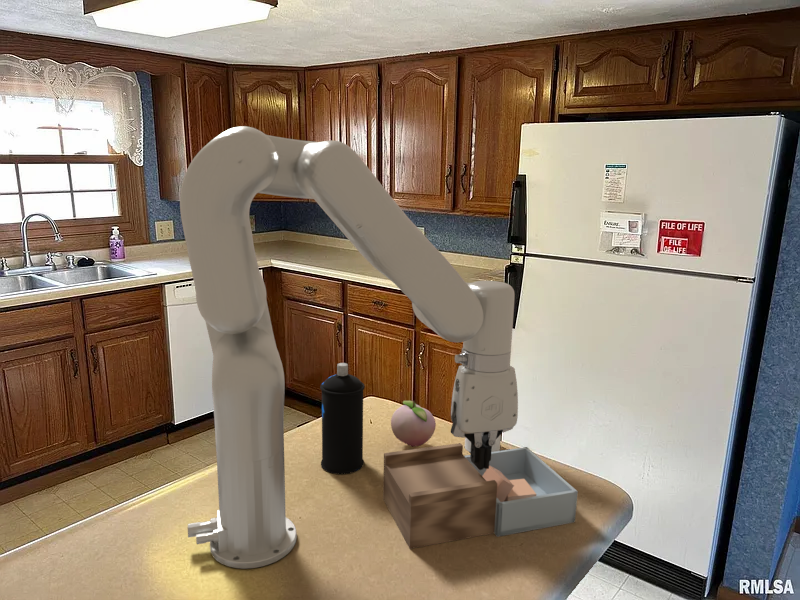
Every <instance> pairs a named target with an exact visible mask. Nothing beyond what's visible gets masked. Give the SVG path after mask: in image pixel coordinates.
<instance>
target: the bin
mask: <svg viewBox="0 0 800 600" xmlns="http://www.w3.org/2000/svg"><path fill="white" fill-rule="evenodd" d="M470 455H471V454H468V455H467V454H466V455H464V456H465V458H466V459H467V460H468V461H469V462H470V463H471V464H472V465H473V467H474V468H475V469H476V470H477V471H478V472H479V473H480V474H481V475H482V476H483V474H484V473H485V471H486V470H487V469H485V468H484V469H483V470H479V469H478V468H477V467H476V466H475V465H474V464H473V463H472V461H471V458H470ZM489 465H490V466H492V467H493V468H495V469H497V470H499V471H500V472H501V473H502V474H503V475H504V476H505V477H506V478H507V479H508V480H516V479H525V480H526V482H527V483H528V484H529V485H530V487H531V488H532V489H533V490H534V492H535V493H536V496H535V497H529V498H523V499H517V500H511V501H505V502H500V501H499V499H498V498H496V513H495V529H494V533H493V534H495V536H496V537H497V538H498V537H503V536H504V537H505V536H508V535H515V534H520V533H525V532H530V531H537V530H540V529H545V528H550V527H551V528H552V527H556V526H562V525H567V524H573V523H575V522H576V513H577V505H578V504H577V501H578V493H579V491H578V490H577V489H576V488H575V487H574V486H572V485H571V483H569V482H567V480H565V479H564V478H563V477H562V476H561V475H559V474H558V472H556V471H555V470H554V469H553V468H552V467H550V466H549V465H548V464H547V463H546V462H545V461H543V460H542V459H541V458H540V457H539V456H538V455H537V454H535V452H533V451H532V450H531V449H530V448H529V447H528V446H524V447H518V448H509V449H504V450H500V451H495V452H491V461H489Z"/></svg>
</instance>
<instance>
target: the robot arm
mask: <svg viewBox="0 0 800 600" xmlns="http://www.w3.org/2000/svg"><path fill="white" fill-rule="evenodd" d="M181 183H182V184H181V188H180V195H179V209H180V210H179V211H180V220H181V224H182V229H183V234H184V239H185V240H184V241H185V244H186V250H187V256H188V259H189V266H190V269H191V275H192V278H193V283H194V284H193V285H194V289H195V290H194V291H195V301H196V305H197V309H198V311H199V313H200V315H201V317H202V318H203V319H204V322H205V325H206V330H207V334H208V338H209V342H210V346H211V349H212V350H211V351H212V356H213V357H212V370H211V392H212V393H211V395H212V404H213V417H214V419H213V420H214V436H215V438H214V439H215V451H216V466H217V467H216V469H217V473H216V474H217V490H218V491H217V492H218V508H219V509H217V510H216V516H217V517H211V518H210V520H208V521H198V522H197V521H196V522H192V523H187V537H188V538H189V539H190V538H196V539H195V540H196V545H200V544H201V545H202V544H206V543H209V549H210V553H211V555H212V557H213V558H214V560H215V561H216V562H219V563H220V564H221V565H225V566H226V567H230V568H234V569H254V568H255V569H256V568H260V567H261V568H262V567H264V566H265V567H266V566H269V565H271V564H273V563H276V562H277V561H279V560H281V559H283V558H284V557H285V556H286V555H288V554H289V553H290V552H291V551H292V550H293V548H294V547H295V545H296V543H297V538H298V537H297V529H296V525H295V524H294V523H293V521H292V520H291V519H289V518H288V517H287V516H286V513H287V512H286V483H285V482H286V480H285V479H286V477H285V474H286V473H285V469H286V468H285V433H284V432H285V431H284V429H285V428H284V427H285V426H284V424H285V423H284V414H285V413H284V410H285V389H286V388H285V387H286V386H285V385H286V384H285V372H284V367H283V363H282V360H281V357H280V352H279V350H278V348H277V343H276V339H275V335H274V331H273V325H272V321H271V316H270V311H269V306H268V301H267V288H266V284H265V282H264V281H265V280H264V278H263V275H262V274H261V272H260V269H259V264H258V259H257V254H256V251H255V246H254V239H253V232H252V230H253V229H252V225H251V219H250V210H251V209H250V208H251V204H252V202H253V200H254V198H255V196H256V195H257V194H265V195H272V196H280V197H287V198H296V199H308V200H314V201H315V202H316V204H318V205H319V207H320V208H321V209H322V210H323V212H324V213H325V214H326V215H327V216H328V217H329V218H330V220H331V221H332V222H333V223H334V225H335V226H337V228H338V229H339V230H340V231H341V233H342V234H343V235H344V236H345V237H346V238H347V240H348V241H349V242H350V243H351V244H352V245H353V247H355V249H356V250H357V252H359V254H360V256H362V257H363V258H364V259H365V260H366V261H367V262H368V263H369V264H370V265H371V266H372V267H373V268H374V269H376V271H378V272H379V273H380V274H382V275H383V276H384V277H386V278H387V279H388V280H390V281H391V282H392V283H393V284H394V285H395V286H396V287H397V288H398V289H399V290H400V291H401V293H403V294H404V295H405V296H406V297H407V298H408V299H409V300H410V301H411V306H412V311H413V312H414V315H415V316H416V318H417V319H418V320H419V321H420V322H421V323H423V324H424V325H425V326H426V327H427V328H428V329H430V330H432V331H433V332H434V333H435V334H437V336H439V337H440V338H442V339H443V340H446V341H448V342H451V343H463V344H462V347H461V352H460V353H459V354H455V355H454V362H455V363H456V364H461V365H459V366H458V369H457V372H456V375H455V378H454V379H455V380H454V382H453V383H454V384H453V388H452V389H453V390H452V396H451V404H450V405H451V407H450V420H451V422H452V424H451V429H450V433H451V435H453V436H454V437H456V438H461V439H462V438H464V439H465V438H467V439H468V440H469V441H470V442H471V453H470V454H469V455H470V458H471V461H472V463H473V464H474V465H475V466H476V467H477V468H478V469H479V470H483V469H484V468H485V469H489V461H491V451H492V446H493V445H494V444H495V441H496V439H497V438H498V437H499V436H500V435H502V434H503V433H506V432H509V431H511V430H513V428H514V427H515V426H516V425H517V423H518V416H519V415H518V413H519V411H518V410H519V398H518V397H519V395H518V394H519V393H518V383H517V375H516V369H515V368H514V366H513V365H511V355H512V354H511V353H512V344H513V343H512V340H513V326H514V325H513V324H514V309H515V297H516V296H515V290H514V288H513V286H511V285H510V284H509V283H506V282H503V281H495V280H478V281H473V282H466V281H465V280H464V278H463V277H462V276H461V275H460V273H459V272H458V271H457V270H456V268H454V266H453V265H452V264H451V263H450V261H449V260H448V259H447V258H446V257H445V256H444V255H443V254H442V253H441V252H440V251H439V250H438V249H437V248H436V246H435V245H434V244H433V243H432V242H431V241H430V240H429V238H427V237H426V235H425V234H424V233H423V232H422V231H421V230H420V229H419V228H418V226H416V224H415V223H414V222H413V221H412V220H411V219H410V218H409V217H408V215H407V214H406V213H405V212H404V211H403V210H402V209H401V207H400V206H399V204H398V203H397V202H396V201H395V200H394V199H393V197H392V196H391V195H390V194H389V192H388V191H387V190H386V189H385V187H384V186H383V184H381V182H380V181H379V179H378V178H377V177H376V176H375V174H374V173H373V172H372V171H371V169H370V168H369V166H368V165H367V164H366V163H365V162H364V161H363V159H362V158H361V157H360V155H358V153H356V151H354V149H353V148H352V147H351V146H349V145H348V144H346V143H344V142H342V141H339V140H331V139H329V140H324V141H312V140H311V141H310V140H301V139H293V138H286V137H280V136H274V135H268V134H266V133H264V132H263V131H261V130H259V129H257V128H256V127H253V126H251V127H250V126H246V125H244V126H243V125H242V126H241V125H240V126H235V127H231V128H228V129H227V130H225V131H223V132H221V133H220V134H218V135H217V136H215V137H213V139H211V140H210V141H209V142H208V143H206V145H204V146H203V147H202V148H201V149H200V150H199V151H198V152H197V154H196V155H195V156H194V157H193V159H192V160H191V162H190V163H189V165H188V168H187V169H186V171H185V174H184V176H183V179H182V182H181ZM481 433H482V435H481Z"/></svg>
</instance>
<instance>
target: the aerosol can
mask: <svg viewBox="0 0 800 600" xmlns="http://www.w3.org/2000/svg"><path fill="white" fill-rule="evenodd" d="M336 365H337V366H336V368H337V370H336V371H337V372H336V374H334V375H331V376H329V377H328V378H326V379H325V380H324V381H323V382H322V383H321V384H320V386H319V387H320V391H321V461H320V466H321V469H323V470H324V471H325V472H328V473H330V474H334V475H347V474H348V475H350V474H352V473H355V472H358V471H359V470H361V469H362V468H363V466H364V465H365V461H364V457H363V456H364V455H363V454H364V453H363V452H364V451H363V448H364V446H363V445H364V439H363V438H364V390H365V388H366V387H365V384H364V383H363V382H362V381H361V380H360V379H359V378H358V377H356V376H355V375H352V374H349V365H348V363H346V362H340V363H337V364H336Z"/></svg>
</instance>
